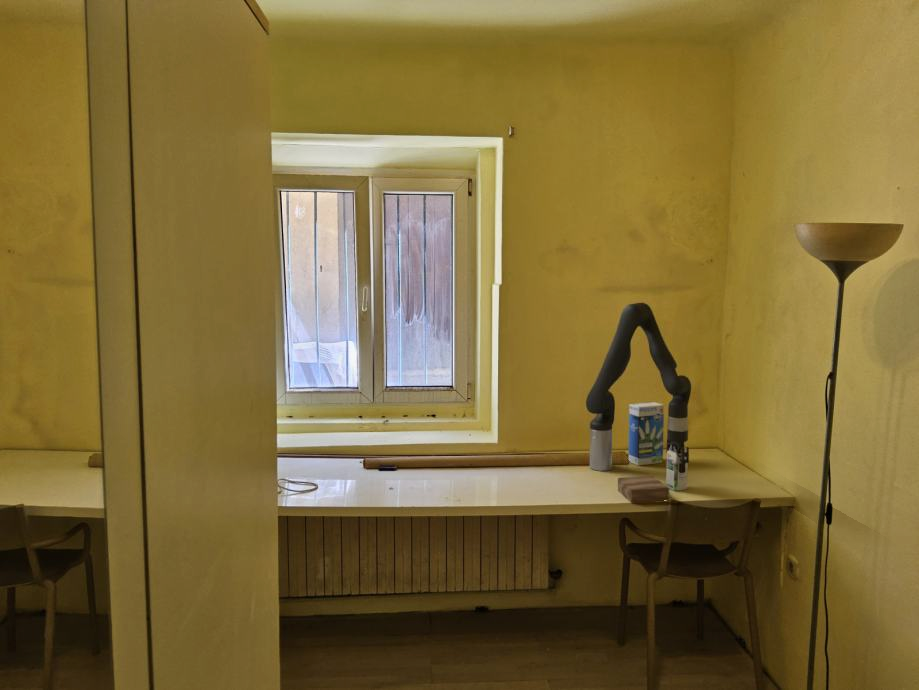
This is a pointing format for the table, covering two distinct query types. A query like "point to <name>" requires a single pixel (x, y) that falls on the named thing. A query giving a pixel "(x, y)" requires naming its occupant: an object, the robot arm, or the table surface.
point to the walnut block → (643, 489)
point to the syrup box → (675, 473)
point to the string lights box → (646, 433)
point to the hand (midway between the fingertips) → (677, 469)
